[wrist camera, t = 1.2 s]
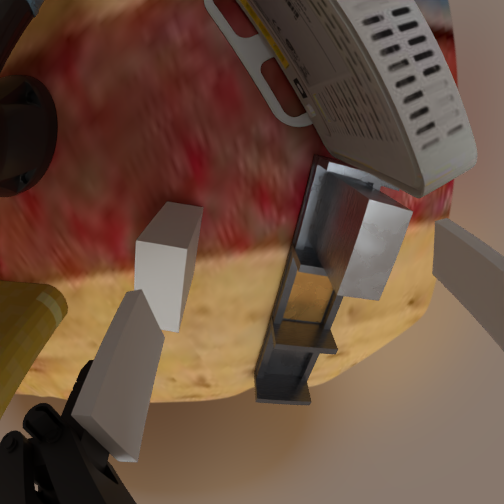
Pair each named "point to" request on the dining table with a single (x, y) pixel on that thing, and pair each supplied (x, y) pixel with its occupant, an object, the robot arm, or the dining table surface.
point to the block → (168, 261)
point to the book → (25, 330)
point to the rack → (327, 272)
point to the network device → (363, 84)
